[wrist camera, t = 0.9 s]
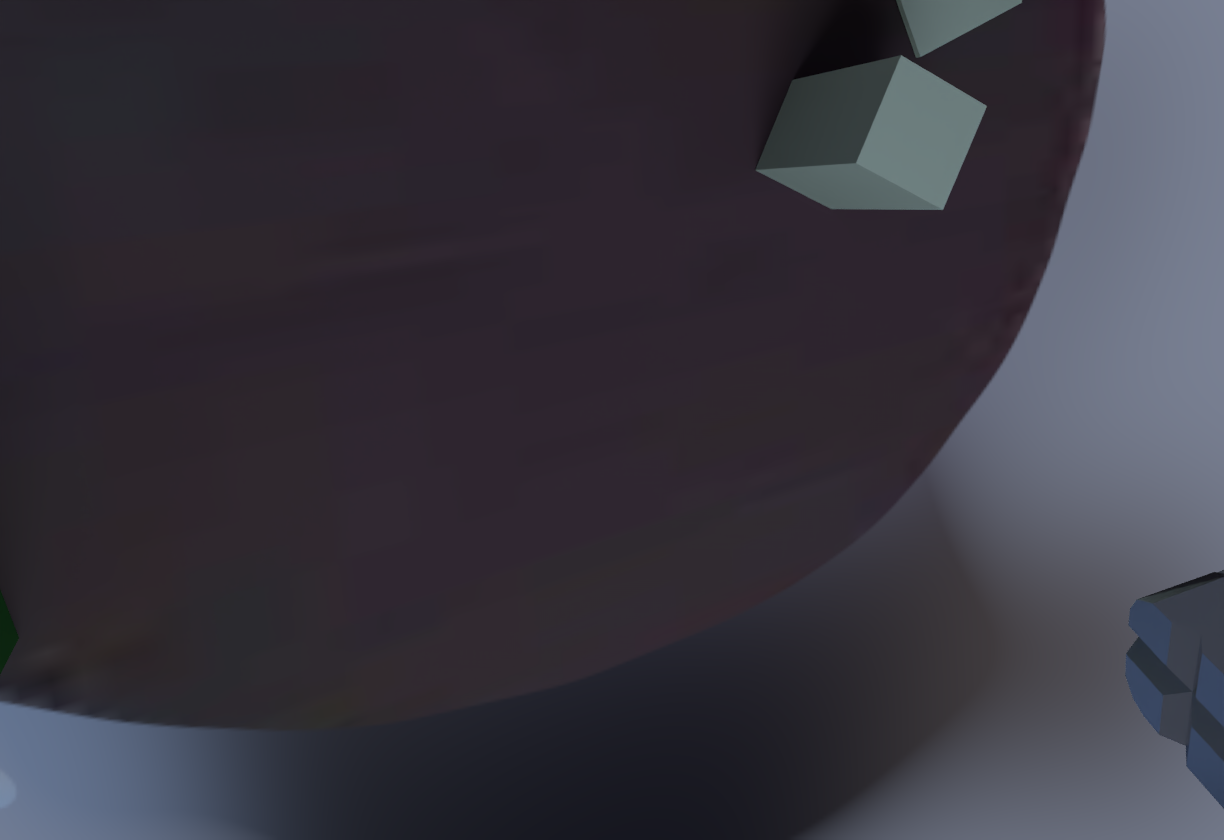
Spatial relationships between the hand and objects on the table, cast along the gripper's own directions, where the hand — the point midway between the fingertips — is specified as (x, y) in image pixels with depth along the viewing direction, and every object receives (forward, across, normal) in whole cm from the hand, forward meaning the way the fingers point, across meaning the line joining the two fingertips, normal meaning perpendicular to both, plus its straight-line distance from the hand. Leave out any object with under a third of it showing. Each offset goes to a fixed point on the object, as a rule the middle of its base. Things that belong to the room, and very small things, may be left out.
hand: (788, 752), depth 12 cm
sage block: (+45, -17, +12) cm, 50 cm away
